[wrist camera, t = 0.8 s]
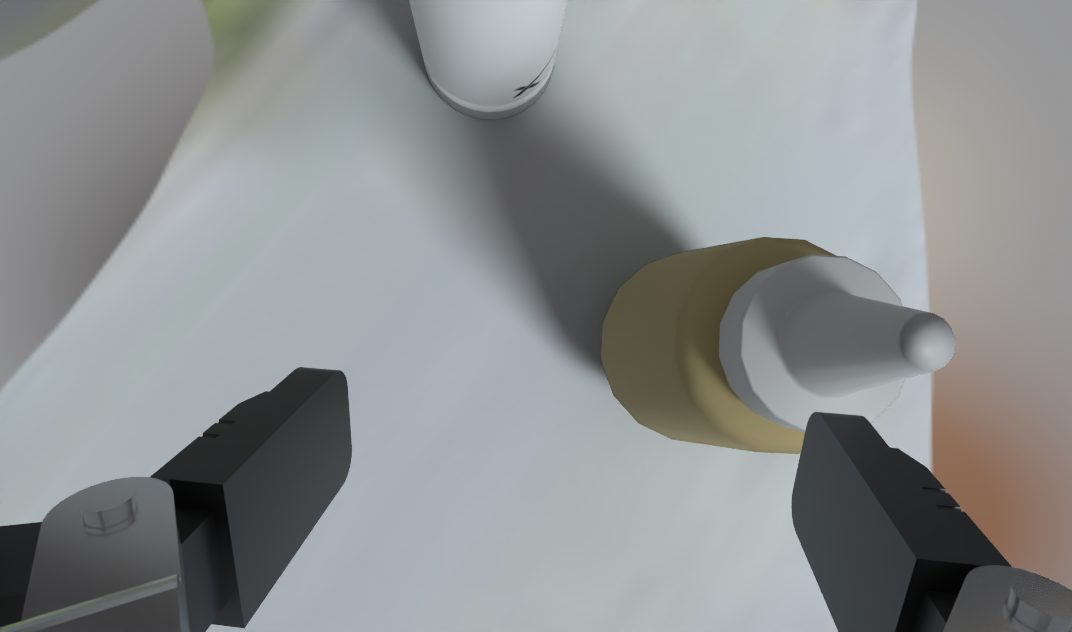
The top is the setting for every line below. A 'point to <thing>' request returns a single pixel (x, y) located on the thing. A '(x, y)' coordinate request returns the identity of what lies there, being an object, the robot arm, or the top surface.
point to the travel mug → (489, 51)
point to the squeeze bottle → (762, 343)
